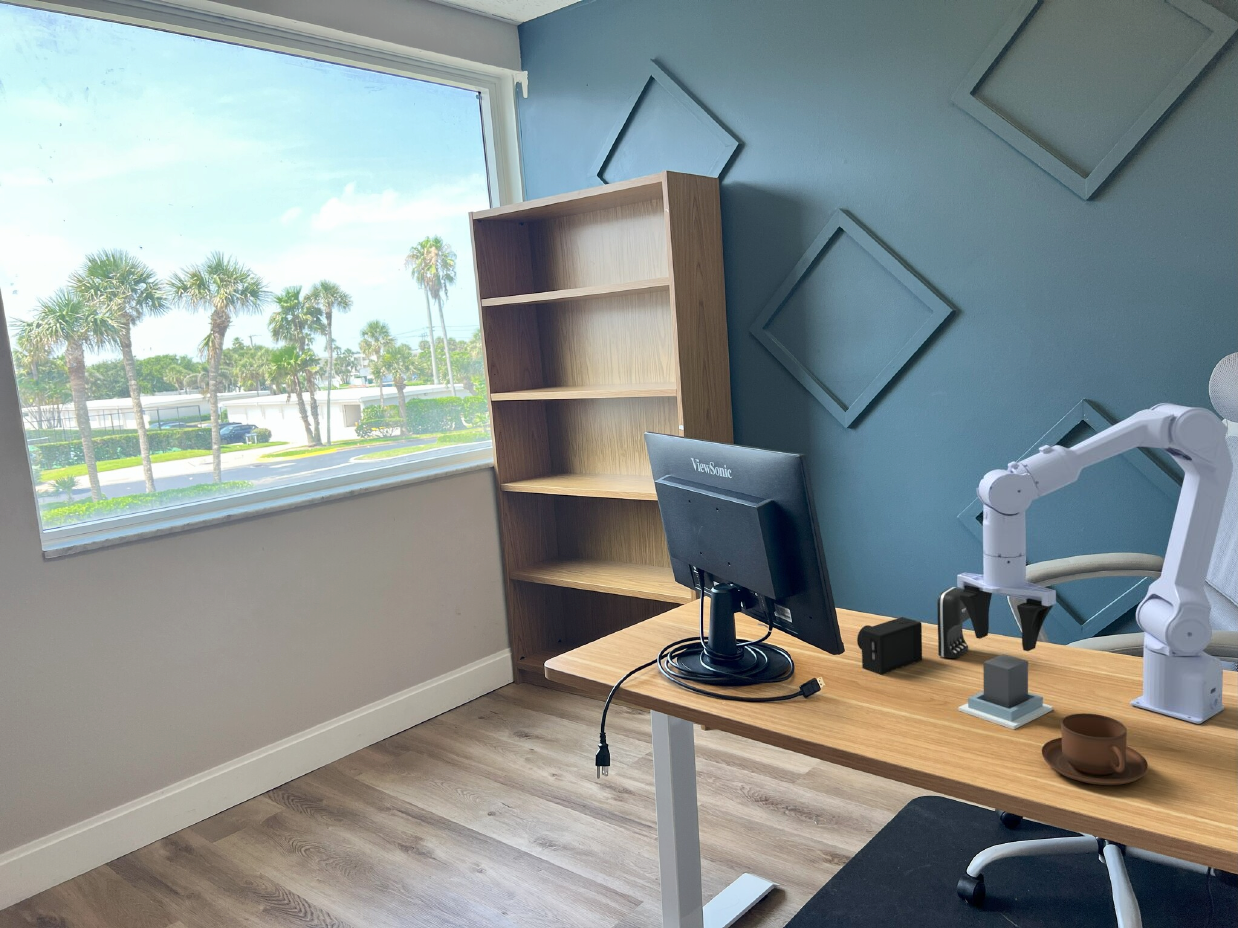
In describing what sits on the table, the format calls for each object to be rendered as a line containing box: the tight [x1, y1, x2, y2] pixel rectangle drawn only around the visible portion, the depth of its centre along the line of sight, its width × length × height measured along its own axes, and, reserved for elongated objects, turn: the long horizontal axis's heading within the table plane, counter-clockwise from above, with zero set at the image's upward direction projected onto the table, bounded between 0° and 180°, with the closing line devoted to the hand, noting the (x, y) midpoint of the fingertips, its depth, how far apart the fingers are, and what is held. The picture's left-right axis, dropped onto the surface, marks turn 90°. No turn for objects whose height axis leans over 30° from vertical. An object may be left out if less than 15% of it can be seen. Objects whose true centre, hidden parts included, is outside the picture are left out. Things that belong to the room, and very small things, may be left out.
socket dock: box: [957, 690, 1054, 730], centre depth 135 cm, size 9×10×2 cm
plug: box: [982, 653, 1029, 709], centre depth 135 cm, size 4×5×7 cm
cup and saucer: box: [1041, 712, 1149, 786], centre depth 116 cm, size 12×12×6 cm
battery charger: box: [936, 586, 970, 659], centre depth 159 cm, size 7×4×11 cm, turn 137°
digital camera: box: [856, 616, 923, 676], centre depth 156 cm, size 10×5×7 cm, turn 122°
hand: (1005, 642), depth 134 cm, fingers open, 7 cm apart
